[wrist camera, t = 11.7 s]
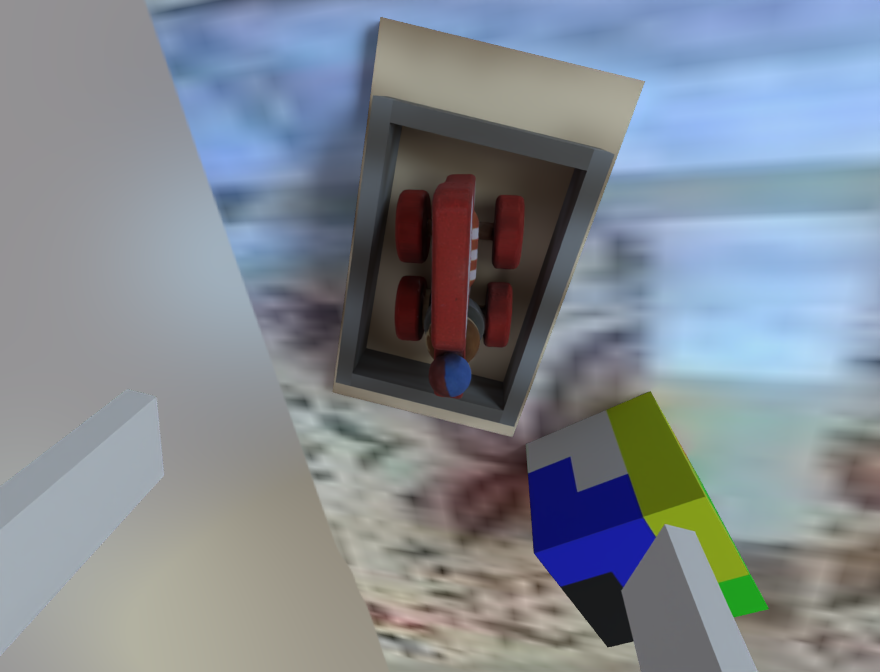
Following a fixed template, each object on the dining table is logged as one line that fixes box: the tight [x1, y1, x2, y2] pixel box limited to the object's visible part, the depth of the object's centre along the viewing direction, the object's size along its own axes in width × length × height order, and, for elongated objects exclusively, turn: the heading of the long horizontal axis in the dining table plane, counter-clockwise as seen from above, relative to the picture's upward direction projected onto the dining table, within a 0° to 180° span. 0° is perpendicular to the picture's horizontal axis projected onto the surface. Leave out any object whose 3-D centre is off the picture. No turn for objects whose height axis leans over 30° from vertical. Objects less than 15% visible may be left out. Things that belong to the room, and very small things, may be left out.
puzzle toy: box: [526, 391, 769, 647], centre depth 32 cm, size 10×10×10 cm
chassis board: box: [333, 17, 645, 437], centre depth 28 cm, size 24×14×4 cm, turn 168°
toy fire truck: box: [394, 174, 525, 399], centre depth 25 cm, size 7×12×10 cm, turn 178°
